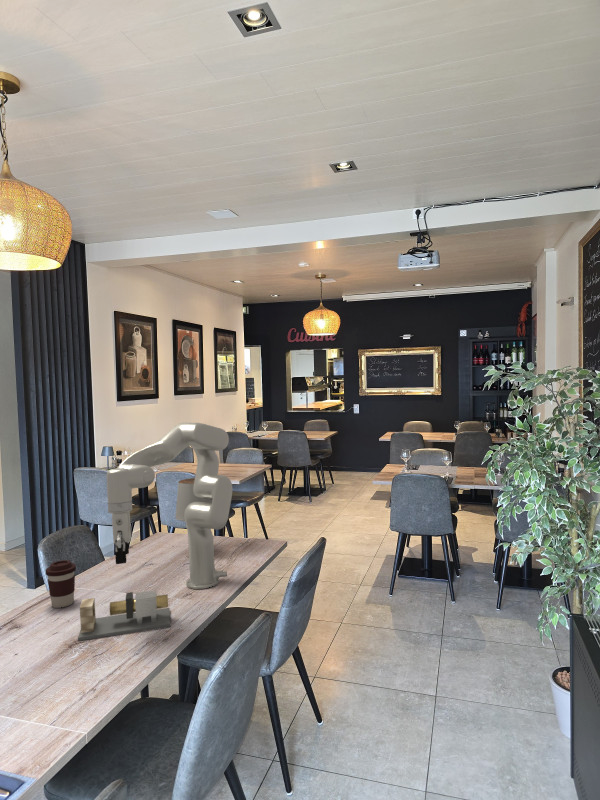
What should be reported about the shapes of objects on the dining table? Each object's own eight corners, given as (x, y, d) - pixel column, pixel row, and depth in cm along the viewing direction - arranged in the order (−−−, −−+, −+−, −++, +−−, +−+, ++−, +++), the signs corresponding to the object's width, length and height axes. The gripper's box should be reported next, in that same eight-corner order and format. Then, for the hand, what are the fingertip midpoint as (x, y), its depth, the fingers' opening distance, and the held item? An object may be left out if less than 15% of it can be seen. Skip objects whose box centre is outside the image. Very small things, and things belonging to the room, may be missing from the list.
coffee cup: (83, 600, 196) (81, 559, 195) (63, 611, 186) (61, 568, 186) (62, 597, 199) (59, 557, 199) (41, 608, 190) (38, 566, 189)
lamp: (186, 548, 253) (182, 477, 252) (224, 548, 251) (221, 476, 249) (170, 561, 234) (167, 484, 233) (212, 562, 232) (209, 484, 231)
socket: (95, 622, 174) (94, 598, 174) (93, 631, 168) (92, 606, 168) (83, 623, 173) (82, 599, 173) (81, 632, 167) (79, 607, 167)
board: (169, 610, 183) (169, 607, 183) (170, 626, 171) (170, 623, 171) (83, 623, 176) (83, 620, 176) (78, 640, 164) (77, 637, 164)
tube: (168, 606, 179) (167, 587, 179) (168, 612, 174) (167, 593, 174) (111, 614, 175) (110, 595, 175) (110, 621, 170) (109, 601, 170)
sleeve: (157, 613, 179) (156, 590, 179) (157, 621, 173) (156, 596, 173) (137, 616, 177) (135, 592, 177) (136, 624, 172) (135, 599, 171)
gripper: (130, 511, 167) (132, 565, 167) (134, 500, 183) (136, 549, 184) (104, 513, 165) (107, 568, 165) (111, 502, 182) (113, 552, 182)
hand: (122, 558), depth 175 cm, fingers open, 9 cm apart
